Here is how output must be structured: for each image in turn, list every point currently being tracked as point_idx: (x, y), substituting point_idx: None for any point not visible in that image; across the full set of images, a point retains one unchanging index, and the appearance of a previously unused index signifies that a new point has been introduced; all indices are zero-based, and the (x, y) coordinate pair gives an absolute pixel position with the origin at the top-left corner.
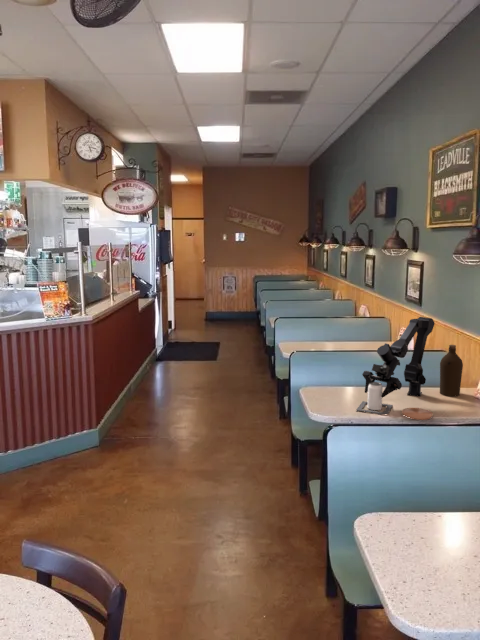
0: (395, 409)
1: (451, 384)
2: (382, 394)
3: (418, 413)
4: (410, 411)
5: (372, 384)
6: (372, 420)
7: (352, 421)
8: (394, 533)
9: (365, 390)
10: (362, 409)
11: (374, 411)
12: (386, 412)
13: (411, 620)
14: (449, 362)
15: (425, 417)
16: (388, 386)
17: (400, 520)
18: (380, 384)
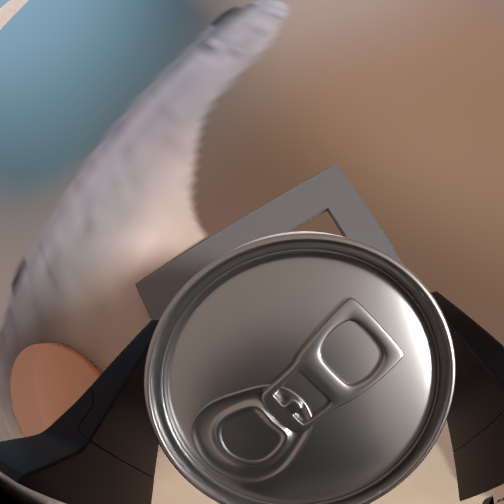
0: None
1: None
2: (145, 334)
3: (45, 411)
4: None
5: (331, 315)
6: (149, 139)
7: (213, 55)
8: (10, 12)
9: (438, 302)
10: (317, 208)
11: (226, 251)
12: (158, 308)
13: (3, 5)
14: None
15: (12, 379)
16: (54, 435)
17: (6, 20)
18: (213, 467)
